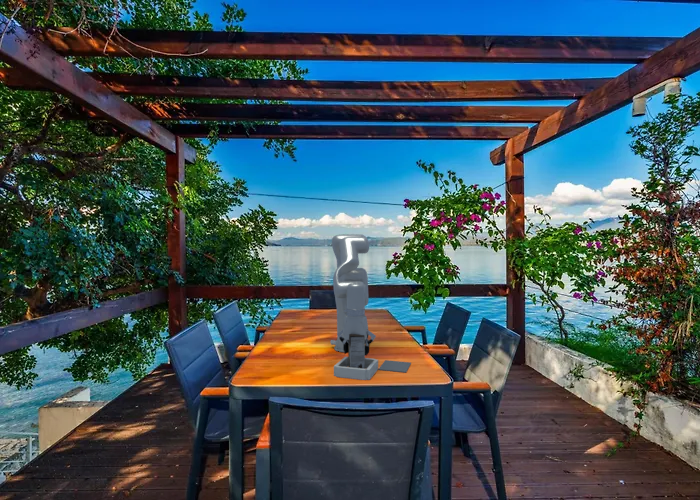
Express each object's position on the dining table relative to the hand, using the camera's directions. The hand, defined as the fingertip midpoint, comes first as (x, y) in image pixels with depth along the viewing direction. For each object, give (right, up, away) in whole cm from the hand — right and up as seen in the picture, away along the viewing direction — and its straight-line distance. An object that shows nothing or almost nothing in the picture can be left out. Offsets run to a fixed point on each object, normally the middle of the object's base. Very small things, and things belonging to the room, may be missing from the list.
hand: (356, 353), depth 148 cm
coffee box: (0, -7, 0) cm, 7 cm away
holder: (0, -8, 0) cm, 8 cm away
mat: (+17, -8, +6) cm, 20 cm away
